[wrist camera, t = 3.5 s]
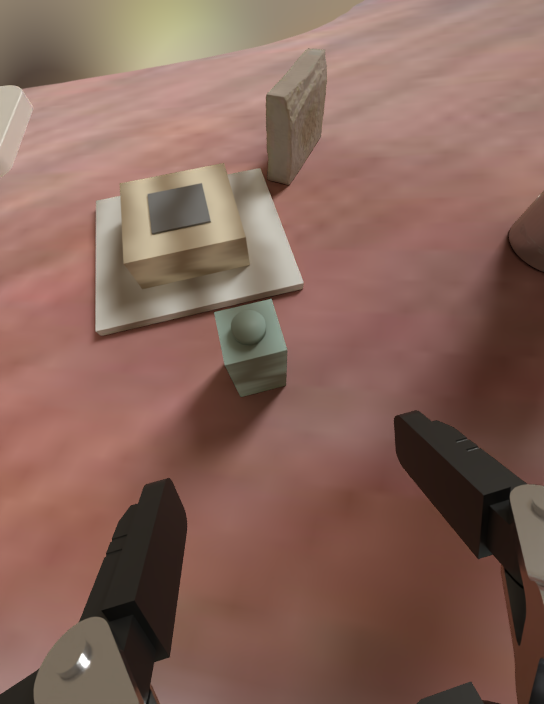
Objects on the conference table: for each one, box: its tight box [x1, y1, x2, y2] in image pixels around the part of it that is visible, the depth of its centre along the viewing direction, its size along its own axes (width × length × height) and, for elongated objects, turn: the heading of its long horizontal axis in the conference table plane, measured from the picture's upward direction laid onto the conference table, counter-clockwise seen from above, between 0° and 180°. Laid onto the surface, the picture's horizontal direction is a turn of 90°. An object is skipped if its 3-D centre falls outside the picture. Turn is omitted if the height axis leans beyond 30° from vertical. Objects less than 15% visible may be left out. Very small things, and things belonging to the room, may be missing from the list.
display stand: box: [96, 163, 304, 336], centre depth 32 cm, size 22×20×5 cm
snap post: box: [214, 299, 287, 397], centre depth 24 cm, size 4×4×9 cm
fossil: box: [266, 49, 327, 185], centre depth 37 cm, size 12×4×10 cm, turn 155°
